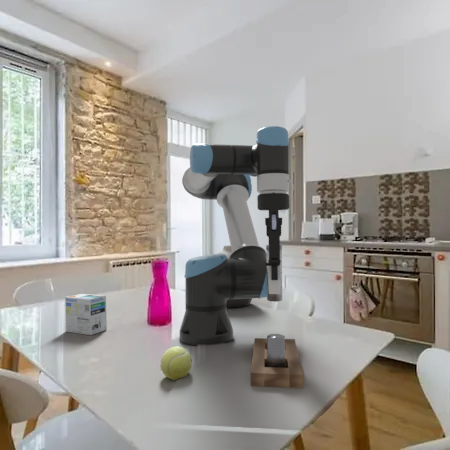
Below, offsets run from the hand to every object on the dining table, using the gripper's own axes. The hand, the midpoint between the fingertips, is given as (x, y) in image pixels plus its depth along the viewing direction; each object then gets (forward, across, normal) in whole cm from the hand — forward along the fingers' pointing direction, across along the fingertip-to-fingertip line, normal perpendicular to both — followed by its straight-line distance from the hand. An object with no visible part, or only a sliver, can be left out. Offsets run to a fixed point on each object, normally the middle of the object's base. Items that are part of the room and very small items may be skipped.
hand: (274, 291), depth 86 cm
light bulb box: (+16, +18, +57) cm, 62 cm away
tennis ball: (+16, -12, +21) cm, 29 cm away
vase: (+16, +58, +16) cm, 63 cm away
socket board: (+16, -6, 0) cm, 17 cm away
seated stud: (+15, -11, 0) cm, 19 cm away
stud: (+2, 0, 0) cm, 2 cm away
